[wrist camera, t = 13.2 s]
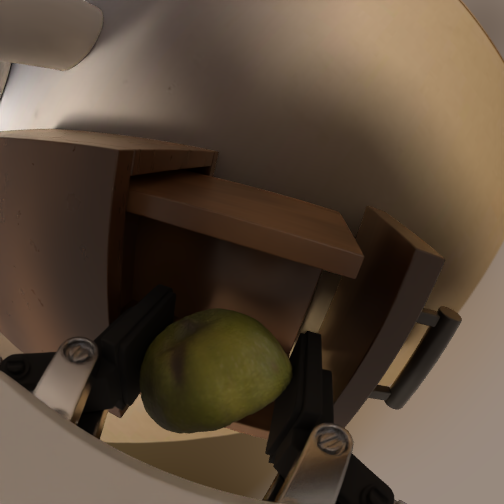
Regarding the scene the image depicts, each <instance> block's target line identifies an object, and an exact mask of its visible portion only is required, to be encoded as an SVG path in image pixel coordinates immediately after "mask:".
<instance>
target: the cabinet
mask: <svg viewBox="0 0 504 504" xmlns="http://www.w3.org/2000/svg"><path fill="white" fill-rule="evenodd" d="M218 154H219V152H218V151H214V150H209V149H204V148H199V147H194V146H189V145H184V144H178V143H172V142H166V141H160V140H154V139H147V138H140V137H133V136H126V135H118V134H109V133H100V132H89V131H78V130H64V129H29V130H11V131H0V333H2V334H3V335H4V336H5V337H6V338H7V339H8V340H9V341H10V342H11V343H12V344H14V345H15V346H16V347H17V348H18V349H19V350H20V351H22V352H23V353H44V352H57V350H58V348H59V347H60V345H61V344H62V343H63V342H64V341H65V340H67V339H68V338H72V337H79V336H80V337H86V338H88V339H91V340H92V341H94V340H95V339H96V338H97V337H98V336H99V335H100V334H101V333H102V332H103V331H104V330H105V329H106V328H107V327H108V326H109V325H110V324H111V323H113V322H114V321H115V320H116V319H117V318H118V317H119V316H120V315H121V279H122V255H123V239H124V226H125V216H126V206H127V198H128V190H129V182H130V176H135V175H141V174H148V173H155V172H162V171H170V170H178V169H182V170H186V171H191V172H195V173H199V174H204V175H208V176H212V177H213V176H214V172H215V167H216V163H217V158H218ZM128 407H129V405H126V407H125V408H124V410H123V411H122V410H121V409H119V408H117V407H115V406H114V408H113V409H108V412H110V413H112V414H113V415H115V416H117V417H119V418H121V417H122V416H123V414H124V413H125V412H126V410H127V409H128Z"/></svg>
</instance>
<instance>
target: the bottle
mask: <svg viewBox="0 0 504 504" xmlns="http://www.w3.org/2000/svg"><path fill="white" fill-rule="evenodd" d="M102 24H103V14H102V11H101V9H99V8H98V7H96V6H94V5H92V4H90V3H88V2H86V1H84V0H0V61H2V62H11V63H18V64H25V65H31V66H38V67H44V68H50V69H55V70H60V71H64V70H68V69H70V68H72V67H74V66H76V65H77V64H78V63H79V62H80V61H81V60H82V59H84V57H85V56H86V55H87V54H88V53H89V51H90V50H91V49H92V47H93V45H94V44H95V42H96V41H97V39H98V36H99V34H100V32H101V29H102Z"/></svg>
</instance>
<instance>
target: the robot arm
mask: <svg viewBox="0 0 504 504" xmlns="http://www.w3.org/2000/svg"><path fill="white" fill-rule="evenodd" d="M10 66H11V62H2V61H0V97H1V95H2V92H3V89H4V87H5V84H6V80H7V77H8V74H9V70H10ZM175 302H176V293H173V289H172V288H170V287H167V286H164V285H161V284H158V285H157V286H156V287H155V288H153V289H152V290H151V291H150V292H149V293H148V294H147V295H146V296H145V297H144V298H143V299H142V300H140V301H139V302H138V303H137V304H136V305H135V306H134V307H129V308H128V309H126V310H125V311H124V312H123V313H122V314H121V315H120V316H119V317H118V318H117V319H116V320H115V321H114V322H113V323H111V324H110V325H109V326H108V327H107V328H106V329H105V330H104V331H103V332H102V333H101V334H100V335H99V336H98V337H97V338H96V339H95V340H94V341H92V340H91V339H88V338H86V337H80V336H79V337H72V338H68V339H67V340H65V341H64V342H63V343H62V344H61V345H60V347H59V348H58V350H57V352H44V353H22V354H12V355H10V356H8V357H6V358H5V359H4V360H3V359H2V357H0V504H406V503H405V502H403V501H402V500H399V501H396V500H394V494H393V492H392V490H391V489H390V488H389V487H388V485H386V484H385V483H384V482H383V481H382V480H381V479H379V478H378V477H377V476H376V475H375V474H374V473H373V472H372V471H371V470H369V469H368V468H367V467H366V466H365V465H364V464H363V463H362V462H361V461H360V460H359V459H357V458H356V457H355V456H354V455H353V454H352V450H353V439H352V436H351V435H350V433H349V432H348V431H347V430H346V429H345V428H344V427H342V426H340V425H338V424H335V423H334V409H333V383H332V372H331V371H330V370H325V369H322V340H321V334H318V333H314V332H311V331H306V333H305V334H304V333H300V335H299V337H298V340H297V342H296V345H295V347H294V349H293V351H292V354H291V356H290V358H289V360H290V362H291V365H292V370H293V379H291V382H290V384H289V385H288V386H287V388H286V390H284V391H283V392H282V394H281V395H280V396H279V397H278V398H277V399H276V400H275V405H274V410H273V416H272V421H271V426H270V432H269V437H268V442H267V447H266V454H268V455H270V458H269V463H273V464H274V468H275V469H276V470H277V471H278V474H277V476H276V477H275V479H274V481H273V483H272V485H271V486H270V488H269V490H268V491H267V493H266V495H265V496H264V498H263V500H258V499H252V498H248V497H244V496H240V495H236V494H231V493H227V492H224V491H220V490H217V489H213V488H210V487H207V486H204V485H201V484H198V483H195V482H192V481H189V480H186V479H183V478H180V477H178V476H175V475H172V474H170V473H167V472H165V471H162V470H160V469H157V468H155V467H153V466H151V465H148V464H145V463H144V462H142V461H140V460H137V459H135V458H133V457H131V456H129V455H127V454H125V453H123V452H121V451H119V450H117V449H116V448H114V447H112V446H110V445H108V444H106V443H105V442H103V441H101V440H100V436H101V433H102V429H103V426H104V423H105V419H106V416H107V413H108V409H113V408H114V406H115V407H117V408H119V409H121V410H122V411H123V410H124V408H125V407H126V405H129V406H131V405H132V404H133V402H134V401H135V399H136V398H137V397H138V395H139V394H140V392H141V391H140V384H139V378H140V370H141V364H142V362H143V358H144V356H145V352H146V350H147V348H148V346H149V345H150V344H151V343H152V341H153V340H154V339H155V337H156V336H158V335H159V334H160V333H161V332H162V331H164V330H165V328H166V327H167V326H169V325H170V324H172V323H173V320H174V311H175Z"/></svg>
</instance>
